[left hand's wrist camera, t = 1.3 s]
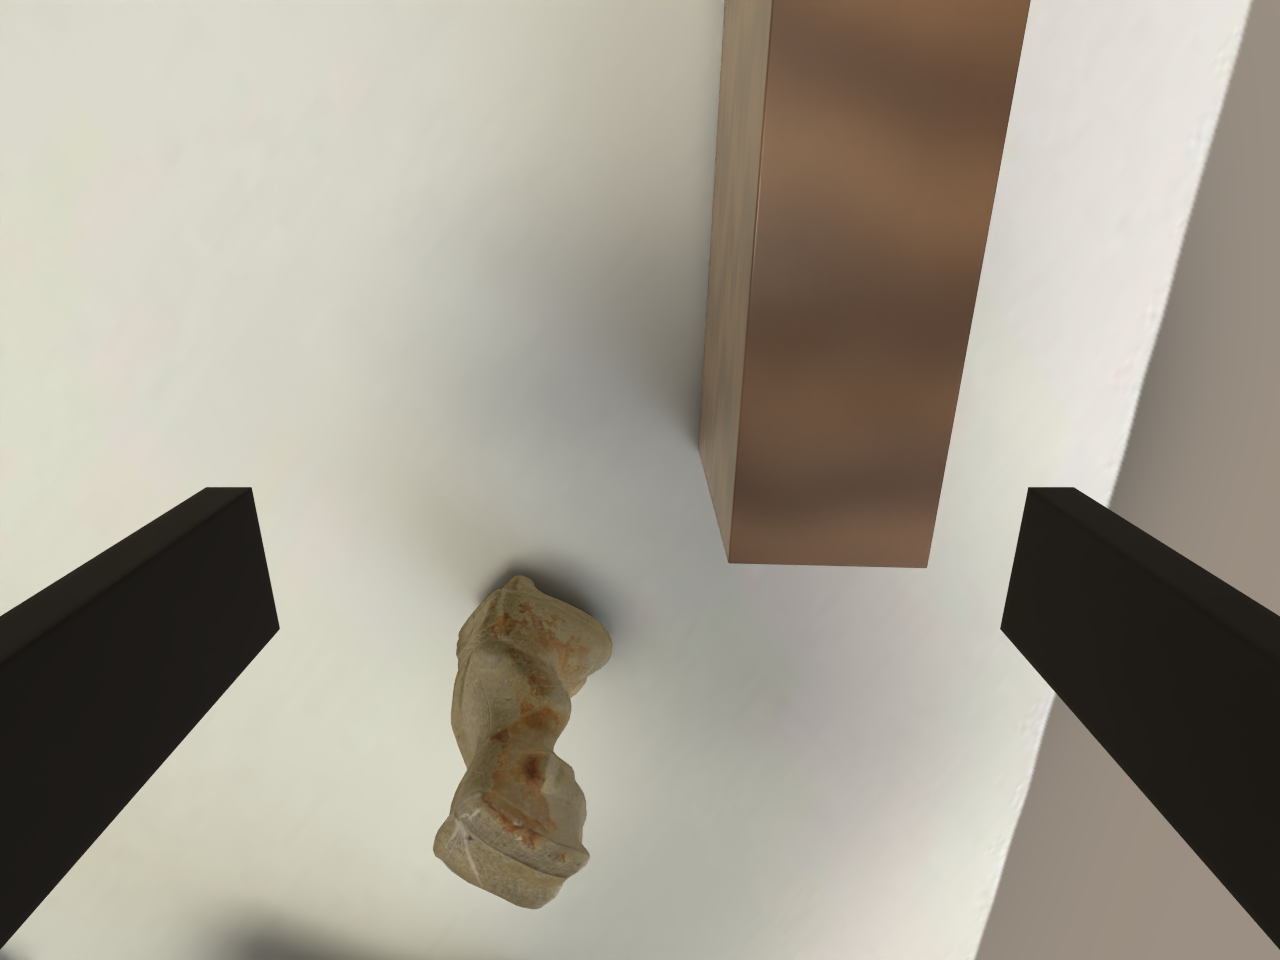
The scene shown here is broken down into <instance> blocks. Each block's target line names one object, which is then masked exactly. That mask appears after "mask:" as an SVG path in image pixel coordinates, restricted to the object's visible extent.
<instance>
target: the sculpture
mask: <svg viewBox="0 0 1280 960" xmlns="http://www.w3.org/2000/svg"><path fill="white" fill-rule="evenodd" d="M611 654H612V641H611V638H610V636H609V634H608V632H607V631H606V629H605V628H604V627H603V626H602V624H601V623H600V622H599V621H597V620H596V619H595V618H593V617H592V616H591V615H589V614H587V613H585V612H584V611H582V610H580V609H578V608H576V607H574V606H572V605H570V604H568V603H566V602H563V601H561V600H558V599H556V598H553V597H551V596H549V595H546V594H544V593H542V592H541V591H539V590H538V589H537V588H536V587H535V584H534V582H533V581H532V580H531V579H529V578H527V577H525V576H521V575H517V576H515V577H513V578H512V579H511V580H510V581H509V582H507V583H506V584H505V585H504V587H503V588H502V589H497V590H495V591H494V592H492V593H491V594H490V595H489V596H488V597H487V598H486V599H485V600H484V601H483V602H482V603H481V604H480V605H479V606H478V607H477V609H476V610H475V611H474V612H473V613H472V614H471V616H470V617H469V618H468V620H467V621H466V623H465V624H464V625H463V627H462V628H461V630H460V632H459V640H458V642H457V652H456V655H457V657H458V673H457V676H456V680H455V684H454V691H453V700H452V710H451V725H452V729H453V732H454V735H455V738H456V741H457V744H458V747H459V749H460V752H461V754H462V757H463V759H464V762H465V764H466V767H467V769H468V770H467V771H466V773H465V775H464V777H463V778H462V780H461V782H460V784H459V786H458V788H457V790H456V792H455V795H454V798H453V801H452V804H451V809H450V815H449V816H448V818H447V819H446V820H445V822H444V823H443V825H442V826H441V827H440V829H439V830H438V832H437V834H436V836H435V841H434V846H433V851H434V854H435V856H436V857H438V858H439V859H441V860H442V861H443V862H444V863H445V865H446V866H447V867H448V868H449V869H450V870H451V871H452V872H454V873H455V874H456V875H458V876H459V877H461V878H462V879H464V880H465V881H467V882H468V883H470V884H473V885H475V886H477V887H479V888H481V889H484V890H486V891H488V892H490V893H492V894H495V895H497V896H499V897H501V898H503V899H505V900H507V901H509V902H511V903H513V904H515V905H517V906H520V907H524V908H530V909H538V908H541V907H542V906H544V905H545V904H547V903H548V902H549V901H551V900H552V899H554V898H555V896H556V895H557V893H558V892H559V890H560V888H561V886H562V885H563V883H564V882H565V880H566V879H567V878H569V877H570V876H572V875H573V874H575V873H577V872H578V871H579V870H580V869H582V868H583V867H584V866H585V865H586V864H587V862H588V860H589V858H590V855H589V853H588V851H587V850H586V848H585V847H584V846H583V845H582V828H583V825H584V822H585V820H586V815H587V814H586V800H585V796H584V793H583V791H582V790H581V788H580V787H579V785H578V784H577V782H576V781H575V776H574V771H573V769H572V767H571V766H570V765H568V764H567V763H566V762H564V761H563V760H562V759H560V758H559V757H558V756H557V755H556V754H555V753H554V752H553V748H554V745H555V743H556V740H557V739H558V737H559V736H560V734H561V733H562V731H563V730H564V728H565V727H566V725H567V723H568V721H569V719H570V713H571V701H570V698H571V697H572V696H574V695H575V694H576V693H577V692H578V691H579V690H580V689H581V688H582V687H583V685H584V684H585V682H586V679H587V676H589V675H590V674H592V673H594V672H595V671H597V670H599V669H600V668H601V667H603V666H604V665H605V664H606V662H607V661H608V660H609V658H610V656H611Z"/></svg>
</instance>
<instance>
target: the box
mask: <svg viewBox="0 0 1280 960" xmlns="http://www.w3.org/2000/svg"><path fill="white" fill-rule="evenodd" d="M1030 1H1031V0H725V9H724V26H723V43H722V59H721V76H720V93H719V110H718V127H717V144H716V161H715V178H714V195H713V212H712V229H711V246H710V263H709V280H708V297H707V314H706V331H705V348H704V365H703V381H702V398H701V415H700V432H699V449H698V450H699V453H700V457H701V461H702V465H703V469H704V472H705V476H706V480H707V484H708V487H709V491H710V495H711V499H712V503H713V506H714V510H715V514H716V518H717V521H718V525H719V529H720V533H721V537H722V540H723V544H724V548H725V552H726V555H727V559H728V562H729V563H742V564H783V565H823V566H864V567H905V568H927V564H928V559H929V553H930V548H931V542H932V537H933V531H934V526H935V520H936V515H937V509H938V504H939V498H940V493H941V487H942V482H943V477H944V471H945V466H946V460H947V455H948V449H949V444H950V438H951V433H952V427H953V422H954V416H955V411H956V405H957V400H958V394H959V389H960V384H961V378H962V373H963V367H964V362H965V356H966V351H967V345H968V340H969V334H970V329H971V323H972V318H973V312H974V307H975V302H976V296H977V291H978V285H979V280H980V274H981V269H982V263H983V258H984V252H985V247H986V241H987V236H988V230H989V225H990V220H991V214H992V209H993V203H994V198H995V192H996V187H997V181H998V176H999V170H1000V165H1001V159H1002V154H1003V148H1004V143H1005V138H1006V132H1007V127H1008V121H1009V116H1010V110H1011V105H1012V99H1013V94H1014V88H1015V83H1016V77H1017V72H1018V66H1019V61H1020V55H1021V50H1022V45H1023V39H1024V34H1025V28H1026V23H1027V17H1028V12H1029V6H1030Z"/></svg>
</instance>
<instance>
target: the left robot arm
mask: <svg viewBox="0 0 1280 960" xmlns="http://www.w3.org/2000/svg"><path fill="white" fill-rule="evenodd" d="M279 629H280V628H279V623H278V617H277V612H276V607H275V602H274V597H273V592H272V587H271V582H270V577H269V572H268V567H267V562H266V557H265V552H264V547H263V542H262V537H261V532H260V527H259V522H258V517H257V512H256V507H255V502H254V497H253V492H252V487H206V488H204V489H203V490H201V491H200V492H198V493H196V494H195V495H193V496H192V497H190V498H188V499H187V500H185V501H184V502H182V503H180V504H179V505H177V506H176V507H174V508H173V509H171V510H169V511H168V512H166V513H165V514H163V515H161V516H160V517H158V518H157V519H155V520H153V521H152V522H150V523H149V524H147V525H145V526H144V527H142V528H141V529H139V530H137V531H136V532H134V533H133V534H131V535H129V536H128V537H126V538H125V539H123V540H121V541H120V542H118V543H117V544H115V545H113V546H112V547H110V548H109V549H107V550H105V551H104V552H102V553H101V554H99V555H97V556H96V557H94V558H93V559H91V560H90V561H88V562H86V563H85V564H83V565H82V566H80V567H78V568H77V569H75V570H74V571H72V572H70V573H69V574H67V575H66V576H64V577H62V578H61V579H59V580H58V581H56V582H54V583H53V584H51V585H50V586H48V587H46V588H45V589H43V590H42V591H40V592H38V593H37V594H35V595H34V596H32V597H30V598H29V599H27V600H26V601H24V602H22V603H21V604H19V605H18V606H16V607H14V608H13V609H11V610H10V611H8V612H7V613H5V614H3V615H2V616H0V949H1V948H2V947H3V946H4V945H5V944H6V942H7V941H8V940H9V939H10V938H11V937H12V936H13V934H14V933H15V932H16V931H17V930H18V929H19V928H20V926H21V925H22V924H23V923H24V922H25V921H26V919H27V918H28V917H29V916H30V915H31V914H32V913H33V911H34V910H35V909H36V908H37V907H38V906H39V905H40V903H41V902H42V901H43V900H44V899H45V898H46V897H47V895H48V894H49V893H50V892H51V891H52V890H53V888H54V887H55V886H56V885H57V884H58V883H59V882H60V880H61V879H62V878H63V877H64V876H65V875H66V874H67V872H68V871H69V870H70V869H71V868H72V867H73V866H74V864H75V863H76V862H77V861H78V860H79V859H80V858H81V856H82V855H83V854H84V853H85V852H86V851H87V849H88V848H89V847H90V846H91V845H92V844H93V843H94V841H95V840H96V839H97V838H98V837H99V836H100V835H101V833H102V832H103V831H104V830H105V829H106V828H107V827H108V825H109V824H110V823H111V822H112V821H113V820H114V819H115V817H116V816H117V815H118V814H119V813H120V812H121V810H122V809H123V808H124V807H125V806H126V805H127V804H128V802H129V801H130V800H131V799H132V798H133V797H134V796H135V794H136V793H137V792H138V791H139V790H140V789H141V788H142V786H143V785H144V784H145V783H146V782H147V781H148V780H149V778H150V777H151V776H152V775H153V774H154V773H155V771H156V770H157V769H158V768H159V767H160V766H161V765H162V763H163V762H164V761H165V760H166V759H167V758H168V757H169V755H170V754H171V753H172V752H173V751H174V750H175V749H176V747H177V746H178V745H179V744H180V743H181V742H182V740H183V739H184V738H185V737H186V736H187V735H188V734H189V732H190V731H191V730H192V729H193V728H194V727H195V726H196V724H197V723H198V722H199V721H200V720H201V719H202V718H203V716H204V715H205V714H206V713H207V712H208V711H209V710H210V708H211V707H212V706H213V705H214V704H215V703H216V701H217V700H218V699H219V698H220V697H221V696H222V695H223V693H224V692H225V691H226V690H227V689H228V688H229V687H230V685H231V684H232V683H233V682H234V681H235V680H236V679H237V677H238V676H239V675H240V674H241V673H242V672H243V671H244V669H245V668H246V667H247V666H248V665H249V664H250V662H251V661H252V660H253V659H254V658H255V657H256V656H257V654H258V653H259V652H260V651H261V650H262V649H263V648H264V646H265V645H266V644H267V643H268V642H269V641H270V640H271V638H272V637H273V636H274V635H275V634H276V633H277V631H278V630H279ZM1000 629H1001V630H1002V631H1003V633H1004V634H1005V635H1006V636H1007V637H1008V638H1009V640H1010V641H1011V642H1012V643H1013V644H1014V645H1015V646H1016V648H1017V649H1018V650H1019V651H1020V652H1021V653H1022V654H1023V656H1024V657H1025V658H1026V659H1027V660H1028V661H1029V662H1030V664H1031V665H1032V666H1033V667H1034V668H1035V669H1036V671H1037V672H1038V673H1039V674H1040V675H1041V676H1042V677H1043V679H1044V680H1045V681H1046V682H1047V683H1048V684H1049V685H1050V687H1051V688H1052V689H1053V690H1054V691H1055V692H1056V693H1057V695H1058V696H1059V697H1060V698H1061V699H1062V700H1063V701H1064V703H1065V704H1066V705H1067V706H1068V707H1069V708H1070V710H1071V711H1072V712H1073V713H1074V714H1075V715H1076V716H1077V718H1078V719H1079V720H1080V721H1081V722H1082V723H1083V724H1084V725H1085V727H1086V728H1087V729H1088V730H1089V731H1090V732H1091V734H1092V735H1093V736H1094V737H1095V738H1096V739H1097V740H1098V742H1099V743H1100V744H1101V745H1102V746H1103V747H1104V749H1105V750H1106V751H1107V752H1108V753H1109V754H1110V755H1111V757H1112V758H1113V759H1114V760H1115V761H1116V762H1117V763H1118V765H1119V766H1120V767H1121V768H1122V769H1123V770H1124V771H1125V773H1126V774H1127V775H1128V776H1129V777H1130V778H1131V779H1132V781H1133V782H1134V783H1135V784H1136V785H1137V786H1138V788H1139V789H1140V790H1141V791H1142V792H1143V793H1144V794H1145V796H1146V797H1147V798H1148V799H1149V800H1150V801H1151V802H1152V804H1153V805H1154V806H1155V807H1156V808H1157V809H1158V810H1159V812H1160V813H1161V814H1162V815H1163V816H1164V817H1165V818H1166V820H1167V821H1168V822H1169V823H1170V824H1171V825H1172V827H1173V828H1174V829H1175V830H1176V831H1177V832H1178V833H1179V835H1180V836H1181V837H1182V838H1183V839H1184V840H1185V841H1186V843H1187V844H1188V845H1189V846H1190V847H1191V848H1192V849H1193V851H1194V852H1195V853H1196V854H1197V855H1198V856H1199V858H1200V859H1201V860H1202V861H1203V862H1204V863H1205V864H1206V866H1207V867H1208V868H1209V869H1210V870H1211V871H1212V872H1213V874H1214V875H1215V876H1216V877H1217V878H1218V879H1219V880H1220V882H1221V883H1222V884H1223V885H1224V886H1225V887H1226V888H1227V890H1228V891H1229V892H1230V893H1231V894H1232V895H1233V897H1234V898H1235V899H1236V900H1237V901H1238V902H1239V903H1240V905H1241V906H1242V907H1243V908H1244V909H1245V910H1246V911H1247V913H1248V914H1249V915H1250V916H1251V917H1252V918H1253V919H1254V921H1255V922H1256V923H1257V924H1258V925H1259V926H1260V928H1261V929H1262V930H1263V931H1264V932H1265V933H1266V934H1267V936H1268V937H1269V938H1270V939H1271V940H1272V941H1273V942H1274V943H1275V945H1276V946H1277V947H1278V948H1279V949H1280V616H1278V615H1277V614H1275V613H1273V612H1272V611H1270V610H1269V609H1267V608H1265V607H1264V606H1262V605H1261V604H1259V603H1257V602H1256V601H1254V600H1253V599H1251V598H1250V597H1248V596H1246V595H1245V594H1243V593H1242V592H1240V591H1238V590H1237V589H1235V588H1234V587H1232V586H1230V585H1229V584H1227V583H1226V582H1224V581H1222V580H1221V579H1219V578H1218V577H1216V576H1214V575H1213V574H1211V573H1210V572H1208V571H1206V570H1205V569H1203V568H1202V567H1200V566H1198V565H1197V564H1195V563H1194V562H1192V561H1190V560H1189V559H1187V558H1186V557H1184V556H1183V555H1181V554H1179V553H1178V552H1176V551H1175V550H1173V549H1171V548H1170V547H1168V546H1167V545H1165V544H1163V543H1162V542H1160V541H1159V540H1157V539H1155V538H1154V537H1152V536H1151V535H1149V534H1147V533H1146V532H1144V531H1143V530H1141V529H1139V528H1138V527H1136V526H1135V525H1133V524H1131V523H1130V522H1128V521H1127V520H1125V519H1123V518H1122V517H1120V516H1119V515H1117V514H1115V513H1114V512H1112V511H1111V510H1109V509H1107V508H1106V507H1104V506H1103V505H1101V504H1100V503H1098V502H1096V501H1095V500H1093V499H1092V498H1090V497H1088V496H1087V495H1085V494H1084V493H1082V492H1080V491H1079V490H1077V489H1076V488H1074V487H1028V492H1027V497H1026V502H1025V507H1024V512H1023V517H1022V522H1021V527H1020V532H1019V537H1018V542H1017V547H1016V552H1015V557H1014V562H1013V567H1012V572H1011V577H1010V582H1009V587H1008V592H1007V597H1006V602H1005V607H1004V612H1003V618H1002V623H1001V628H1000Z"/></svg>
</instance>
